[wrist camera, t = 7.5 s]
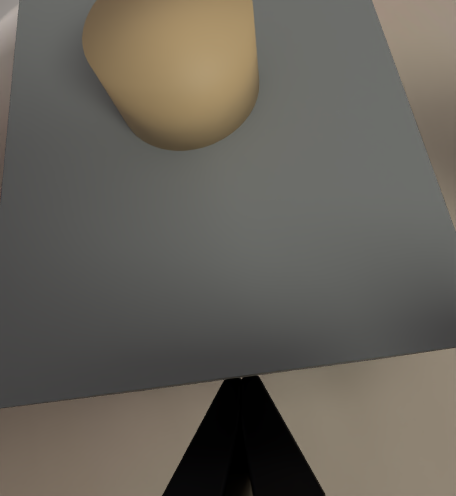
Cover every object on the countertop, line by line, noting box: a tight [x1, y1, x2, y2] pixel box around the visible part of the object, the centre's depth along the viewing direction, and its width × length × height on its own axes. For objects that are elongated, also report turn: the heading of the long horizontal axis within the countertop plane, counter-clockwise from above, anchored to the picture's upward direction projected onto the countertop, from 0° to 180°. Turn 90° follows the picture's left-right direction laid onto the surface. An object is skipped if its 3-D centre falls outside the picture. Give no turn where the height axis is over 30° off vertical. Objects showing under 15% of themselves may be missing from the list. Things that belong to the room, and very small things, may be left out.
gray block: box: [0, 0, 456, 408], centre depth 13 cm, size 14×10×11 cm
